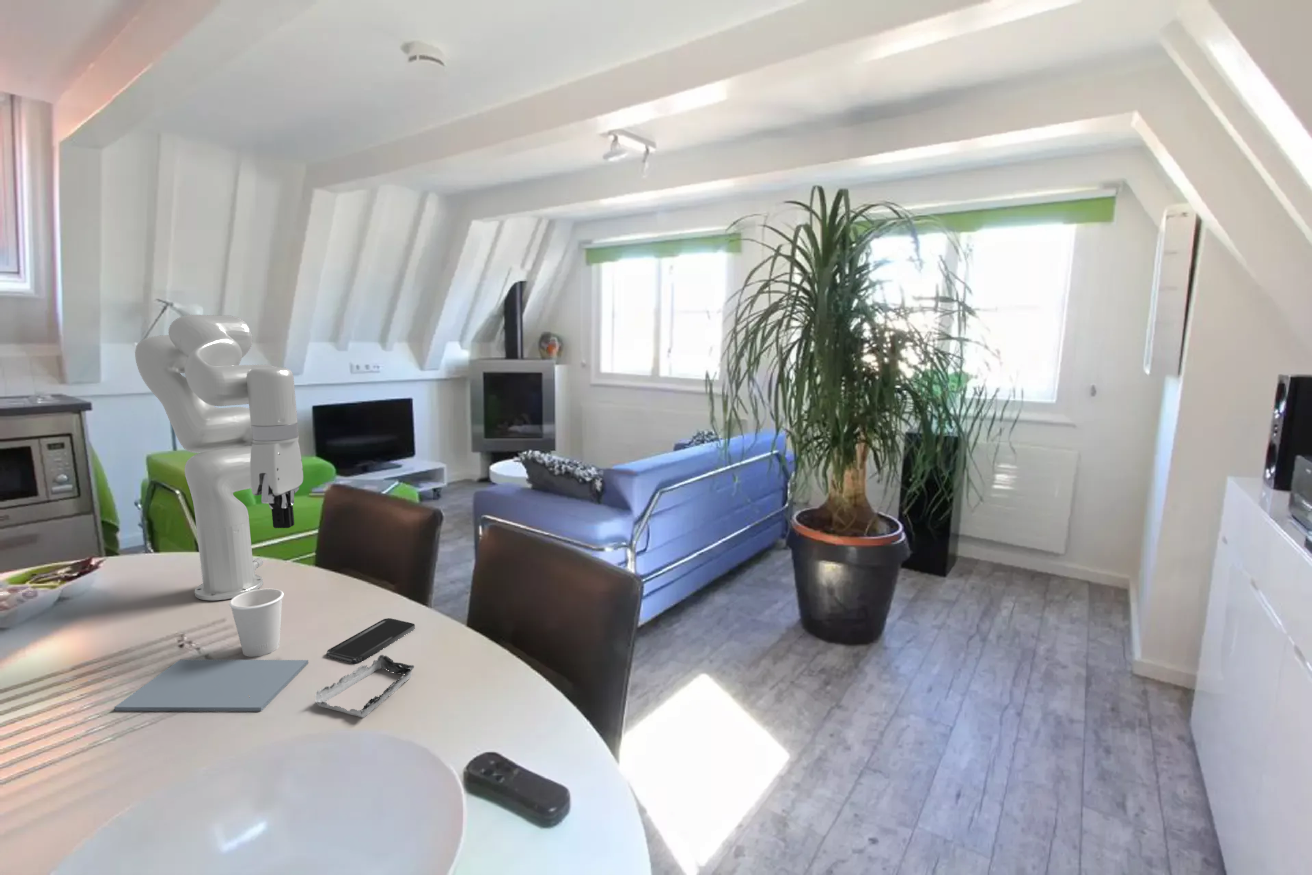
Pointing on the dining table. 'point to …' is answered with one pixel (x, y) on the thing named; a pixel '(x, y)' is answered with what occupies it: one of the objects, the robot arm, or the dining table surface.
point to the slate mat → (214, 686)
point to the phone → (370, 640)
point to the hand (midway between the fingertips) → (283, 526)
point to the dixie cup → (258, 620)
